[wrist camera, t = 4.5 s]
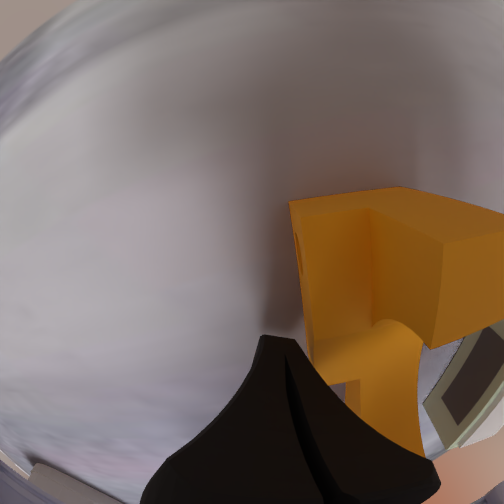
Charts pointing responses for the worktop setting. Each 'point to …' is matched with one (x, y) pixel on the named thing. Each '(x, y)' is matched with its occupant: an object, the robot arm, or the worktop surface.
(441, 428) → the pale green block
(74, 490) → the dish
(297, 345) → the robot arm
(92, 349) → the worktop surface
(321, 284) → the pipe clamp
